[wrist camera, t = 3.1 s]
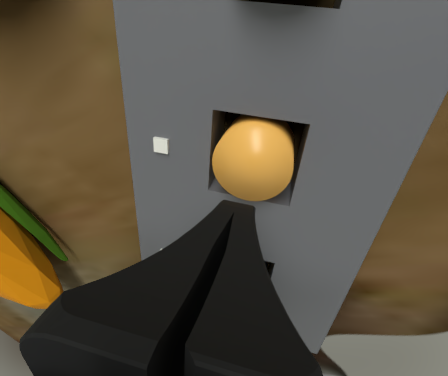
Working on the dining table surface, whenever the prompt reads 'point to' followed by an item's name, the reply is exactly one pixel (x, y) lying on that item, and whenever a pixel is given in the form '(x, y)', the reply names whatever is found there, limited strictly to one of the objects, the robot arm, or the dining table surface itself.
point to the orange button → (255, 157)
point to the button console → (289, 111)
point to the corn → (26, 256)
